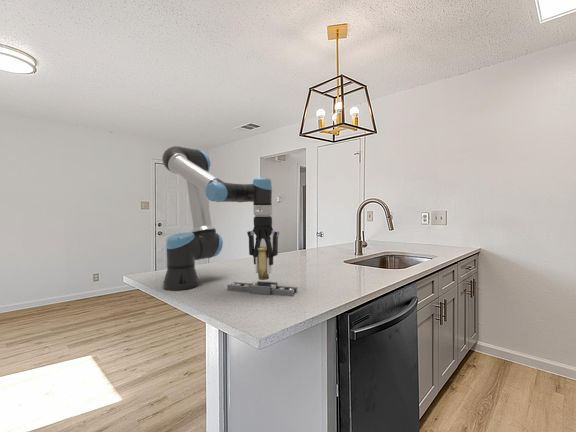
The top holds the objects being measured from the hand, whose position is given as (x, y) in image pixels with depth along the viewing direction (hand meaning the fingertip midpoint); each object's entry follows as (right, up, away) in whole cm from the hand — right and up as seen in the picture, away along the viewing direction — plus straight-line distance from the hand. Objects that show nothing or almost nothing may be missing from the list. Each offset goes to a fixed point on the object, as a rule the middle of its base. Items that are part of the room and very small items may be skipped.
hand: (263, 272), depth 126 cm
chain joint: (0, -8, 0) cm, 8 cm away
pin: (0, -2, 0) cm, 2 cm away
